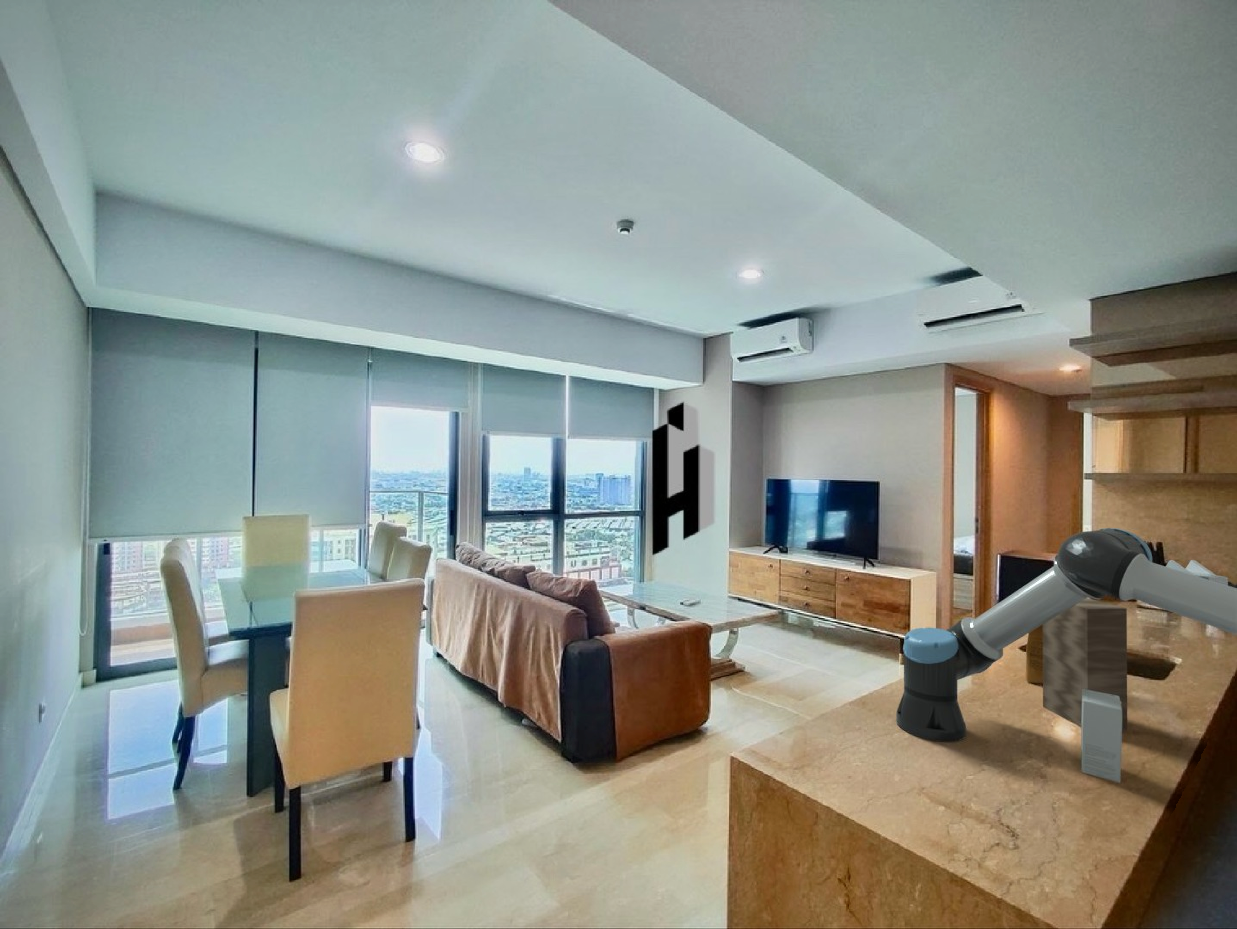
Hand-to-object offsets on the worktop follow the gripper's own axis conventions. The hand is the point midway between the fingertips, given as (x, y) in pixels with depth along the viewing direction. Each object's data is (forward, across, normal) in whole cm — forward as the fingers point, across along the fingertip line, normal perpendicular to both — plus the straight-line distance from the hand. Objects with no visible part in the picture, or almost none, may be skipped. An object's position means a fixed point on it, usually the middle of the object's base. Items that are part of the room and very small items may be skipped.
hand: (1179, 565), depth 121 cm
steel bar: (+1, 0, -6) cm, 6 cm away
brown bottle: (+21, +10, -63) cm, 67 cm away
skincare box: (-22, -18, -38) cm, 47 cm away
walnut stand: (-1, 0, -50) cm, 50 cm away
